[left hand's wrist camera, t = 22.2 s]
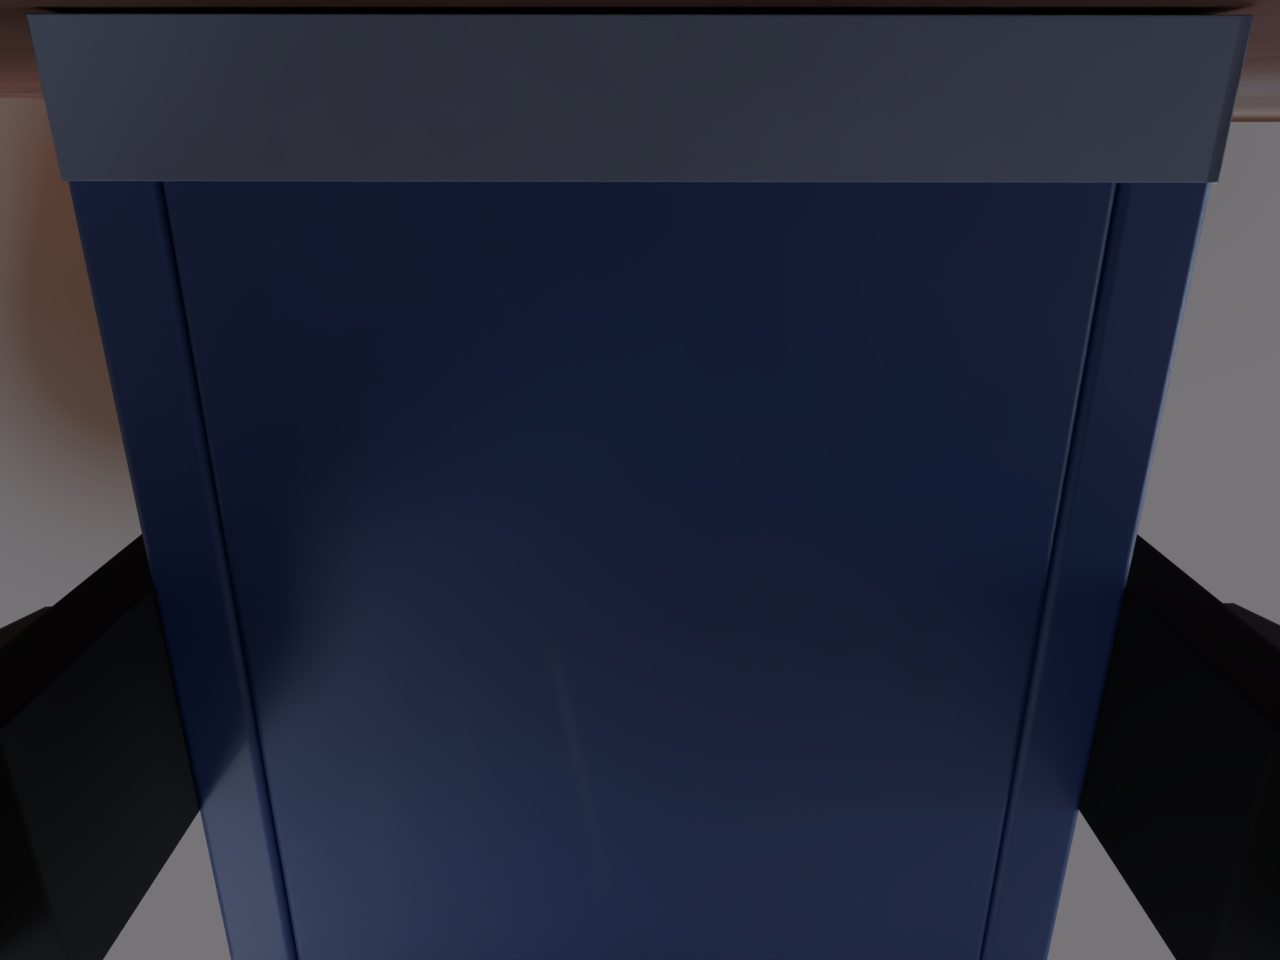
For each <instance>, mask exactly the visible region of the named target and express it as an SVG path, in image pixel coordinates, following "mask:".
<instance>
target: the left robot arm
mask: <svg viewBox="0 0 1280 960" xmlns="http://www.w3.org/2000/svg"><path fill="white" fill-rule="evenodd" d="M199 810H200V807H199V802H198V797H197V792H196V788H195V783H194V778H193V773H192V769H191V764H190V759H189V754H188V750H187V745H186V740H185V735H184V731H183V726H182V721H181V716H180V712H179V707H178V702H177V697H176V693H175V688H174V683H173V678H172V674H171V669H170V664H169V659H168V655H167V650H166V645H165V640H164V635H163V631H162V626H161V621H160V616H159V612H158V607H157V602H156V597H155V593H154V588H153V583H152V578H151V573H150V569H149V564H148V559H147V554H146V550H145V545H144V540H143V535H142V534H141V535H140V536H139V537H138V538H136V539H135V540H134V541H133V542H132V543H130V544H129V545H128V546H127V547H125V548H124V549H123V550H122V551H120V552H119V553H118V554H117V555H115V556H114V557H113V558H112V559H110V560H109V561H108V562H107V563H106V564H104V565H103V566H102V567H101V568H99V569H98V570H97V571H96V572H94V573H93V574H92V575H91V576H89V577H88V578H87V579H86V580H85V581H83V582H82V583H81V584H80V585H78V586H77V587H76V588H75V589H73V590H72V591H71V592H70V593H68V594H67V595H66V596H65V597H63V598H62V599H61V600H60V601H58V602H57V603H56V604H55V605H54V606H52V607H44V608H42V609H40V610H38V611H36V612H34V613H32V614H30V615H27V616H25V617H23V618H21V619H19V620H17V621H15V622H13V623H11V624H9V625H7V626H5V627H3V628H1V629H0V960H103V959H104V957H105V956H106V954H107V952H108V951H109V949H110V948H111V946H112V945H113V943H114V942H115V940H116V939H117V937H118V935H119V934H120V932H121V931H122V929H123V928H124V926H125V925H126V923H127V921H128V920H129V918H130V917H131V915H132V914H133V912H134V911H135V909H136V908H137V906H138V905H139V903H140V901H141V900H142V898H143V897H144V895H145V894H146V892H147V891H148V889H149V888H150V886H151V884H152V883H153V881H154V880H155V878H156V877H157V875H158V874H159V872H160V871H161V869H162V868H163V866H164V864H165V863H166V861H167V860H168V858H169V857H170V855H171V854H172V852H173V851H174V849H175V847H176V846H177V844H178V843H179V841H180V840H181V838H182V837H183V835H184V834H185V832H186V830H187V829H188V827H189V826H190V824H191V823H192V821H193V820H194V818H195V816H196V815H197V813H198V812H199ZM1079 810H1080V812H1081V813H1082V815H1083V816H1084V818H1085V820H1086V821H1087V823H1088V824H1089V826H1090V827H1091V829H1092V830H1093V832H1094V834H1095V835H1096V837H1097V838H1098V840H1099V841H1100V843H1101V844H1102V846H1103V847H1104V849H1105V851H1106V852H1107V854H1108V855H1109V857H1110V858H1111V860H1112V861H1113V863H1114V864H1115V866H1116V867H1117V869H1118V871H1119V872H1120V874H1121V875H1122V877H1123V878H1124V880H1125V881H1126V883H1127V885H1128V886H1129V888H1130V889H1131V891H1132V892H1133V894H1134V895H1135V897H1136V898H1137V900H1138V902H1139V903H1140V905H1141V906H1142V908H1143V909H1144V911H1145V912H1146V914H1147V915H1148V917H1149V919H1150V920H1151V922H1152V923H1153V925H1154V926H1155V928H1156V929H1157V931H1158V932H1159V934H1160V935H1161V937H1162V938H1163V940H1164V942H1165V943H1166V945H1167V946H1168V948H1169V949H1170V951H1171V952H1172V954H1173V956H1174V957H1175V959H1176V960H1280V625H1278V624H1276V623H1274V622H1272V621H1270V620H1268V619H1266V618H1264V617H1261V616H1259V615H1257V614H1255V613H1253V612H1251V611H1249V610H1247V609H1245V608H1243V607H1241V606H1239V605H1236V604H1234V603H1222V602H1220V601H1219V600H1218V599H1217V598H1215V597H1214V596H1213V595H1212V594H1210V593H1209V592H1208V591H1207V590H1206V589H1204V588H1203V587H1202V586H1201V585H1199V584H1198V583H1197V582H1196V581H1194V580H1193V579H1192V578H1191V577H1190V576H1188V575H1187V574H1186V573H1185V572H1183V571H1182V570H1181V569H1180V568H1178V567H1177V566H1176V565H1175V564H1173V563H1172V562H1171V561H1170V560H1169V559H1167V558H1166V557H1165V556H1164V555H1162V554H1161V553H1160V552H1159V551H1157V550H1156V549H1155V548H1154V547H1152V546H1151V545H1150V544H1149V543H1147V542H1146V541H1145V540H1144V539H1143V538H1141V537H1140V536H1139V535H1138V534H1137V537H1136V541H1135V546H1134V551H1133V556H1132V560H1131V565H1130V570H1129V574H1128V579H1127V584H1126V589H1125V593H1124V598H1123V603H1122V608H1121V612H1120V617H1119V622H1118V626H1117V631H1116V636H1115V641H1114V645H1113V650H1112V655H1111V659H1110V664H1109V669H1108V674H1107V678H1106V683H1105V688H1104V693H1103V697H1102V702H1101V707H1100V711H1099V716H1098V721H1097V726H1096V730H1095V735H1094V740H1093V744H1092V749H1091V754H1090V759H1089V763H1088V768H1087V773H1086V778H1085V782H1084V787H1083V792H1082V796H1081V801H1080V806H1079Z"/></svg>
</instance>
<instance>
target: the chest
mask: <svg viewBox="0 0 1280 960" xmlns="http://www.w3.org/2000/svg"><path fill="white" fill-rule="evenodd" d="M1253 17H1254V16H1253V15H980V14H133V13H28V14H27V19H28V24H29V28H30V33H31V38H32V43H33V47H34V52H35V57H36V61H37V66H38V71H39V76H40V80H41V85H42V90H43V95H44V99H45V104H46V108H47V113H48V118H49V123H50V128H51V132H52V137H53V142H54V146H55V151H56V156H57V161H58V165H59V170H60V175H61V179H62V181H68V182H69V186H70V191H71V196H72V201H73V205H74V210H75V215H76V220H77V224H78V229H79V234H80V239H81V244H82V248H83V253H84V258H85V263H86V267H87V272H88V277H89V282H90V287H91V291H92V296H93V301H94V306H95V311H96V315H97V320H98V325H99V330H100V334H101V339H102V344H103V349H104V354H105V358H106V363H107V368H108V373H109V378H110V382H111V387H112V392H113V396H114V401H115V406H116V411H117V415H118V421H119V425H120V430H121V435H122V440H123V444H124V449H125V454H126V459H127V464H128V468H129V473H130V478H131V483H132V487H133V492H134V497H135V501H136V507H137V511H138V516H139V521H140V526H141V530H142V535H143V540H144V545H145V550H146V554H147V559H148V564H149V569H150V573H151V578H152V583H153V588H154V593H155V597H156V602H157V607H158V612H159V616H160V621H161V626H162V631H163V635H164V640H165V645H166V650H167V655H168V659H169V664H170V669H171V674H172V678H173V683H174V688H175V693H176V697H177V702H178V707H179V712H180V716H181V721H182V726H183V731H184V735H185V740H186V745H187V750H188V754H189V759H190V764H191V769H192V773H193V778H194V783H195V788H196V792H197V797H198V802H199V807H200V812H201V817H202V822H203V827H204V832H205V836H206V841H207V846H208V850H209V855H210V860H211V865H212V870H213V875H214V879H215V884H216V889H217V894H218V898H219V903H220V908H221V913H222V918H223V922H224V927H225V932H226V937H227V941H228V946H229V951H230V956H231V960H1047V957H1048V952H1049V947H1050V943H1051V938H1052V933H1053V929H1054V924H1055V919H1056V914H1057V910H1058V905H1059V900H1060V896H1061V891H1062V886H1063V881H1064V877H1065V872H1066V867H1067V862H1068V858H1069V853H1070V848H1071V844H1072V839H1073V834H1074V829H1075V825H1076V820H1077V815H1078V810H1079V806H1080V801H1081V796H1082V792H1083V787H1084V782H1085V778H1086V773H1087V768H1088V763H1089V759H1090V754H1091V749H1092V744H1093V740H1094V735H1095V730H1096V726H1097V721H1098V716H1099V711H1100V707H1101V702H1102V697H1103V693H1104V688H1105V683H1106V678H1107V674H1108V669H1109V664H1110V659H1111V655H1112V650H1113V645H1114V641H1115V636H1116V631H1117V626H1118V622H1119V617H1120V612H1121V608H1122V603H1123V598H1124V593H1125V589H1126V584H1127V579H1128V574H1129V570H1130V565H1131V560H1132V556H1133V551H1134V546H1135V541H1136V537H1137V532H1138V527H1139V523H1140V518H1141V513H1142V508H1143V504H1144V499H1145V494H1146V489H1147V485H1148V480H1149V475H1150V471H1151V466H1152V461H1153V456H1154V452H1155V447H1156V442H1157V438H1158V433H1159V428H1160V423H1161V419H1162V414H1163V409H1164V404H1165V400H1166V395H1167V390H1168V386H1169V381H1170V376H1171V371H1172V367H1173V362H1174V357H1175V353H1176V348H1177V343H1178V338H1179V334H1180V329H1181V324H1182V319H1183V315H1184V310H1185V305H1186V301H1187V296H1188V291H1189V286H1190V282H1191V277H1192V272H1193V268H1194V263H1195V258H1196V253H1197V249H1198V244H1199V239H1200V235H1201V230H1202V225H1203V220H1204V216H1205V211H1206V206H1207V202H1208V197H1209V192H1210V187H1211V183H1217V182H1218V181H1219V176H1220V171H1221V166H1222V162H1223V157H1224V153H1225V148H1226V143H1227V139H1228V134H1229V129H1230V125H1231V120H1232V115H1233V111H1234V106H1235V101H1236V97H1237V92H1238V87H1239V83H1240V78H1241V73H1242V69H1243V64H1244V59H1245V55H1246V50H1247V45H1248V41H1249V36H1250V31H1251V27H1252V22H1253Z"/></svg>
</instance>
